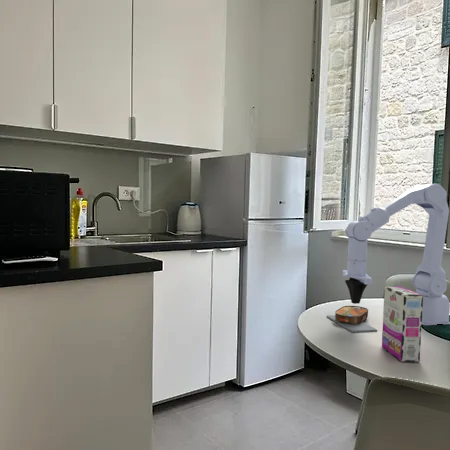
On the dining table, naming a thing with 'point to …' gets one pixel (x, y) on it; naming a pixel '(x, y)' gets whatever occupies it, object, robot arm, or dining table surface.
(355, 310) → the tin
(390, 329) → the candy bar box
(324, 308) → the dining table surface
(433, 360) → the dining table surface
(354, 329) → the pad
